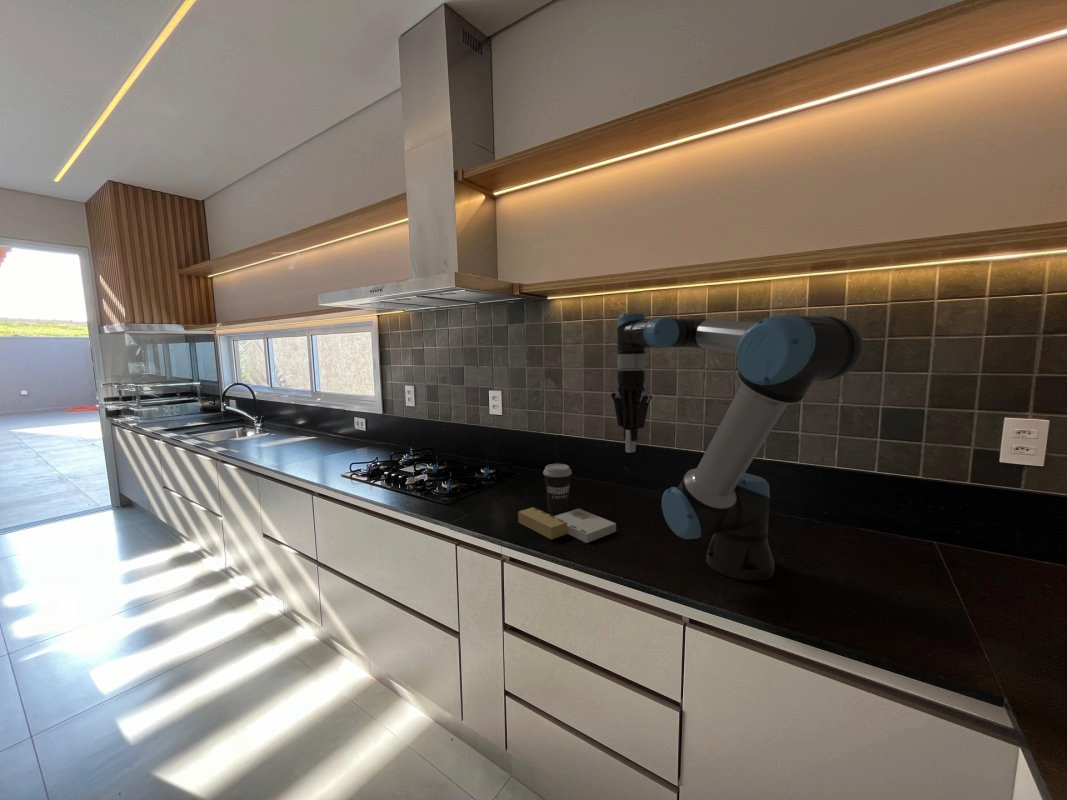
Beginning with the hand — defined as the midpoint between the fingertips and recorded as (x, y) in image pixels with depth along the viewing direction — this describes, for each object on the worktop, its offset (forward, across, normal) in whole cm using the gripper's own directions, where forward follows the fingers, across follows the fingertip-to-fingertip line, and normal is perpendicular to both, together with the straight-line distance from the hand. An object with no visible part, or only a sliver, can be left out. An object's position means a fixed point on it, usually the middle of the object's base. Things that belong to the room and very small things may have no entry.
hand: (630, 451), depth 125 cm
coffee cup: (+24, +27, +4) cm, 37 cm away
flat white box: (+24, +11, +8) cm, 28 cm away
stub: (+24, +19, +18) cm, 36 cm away
